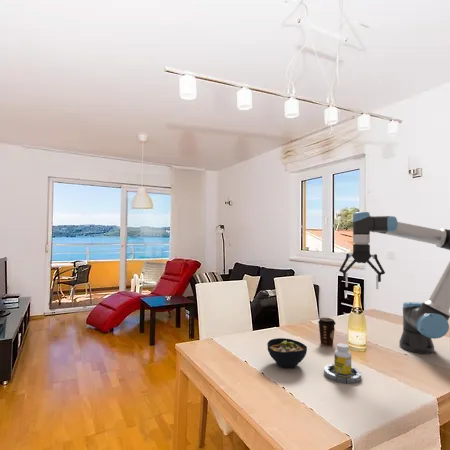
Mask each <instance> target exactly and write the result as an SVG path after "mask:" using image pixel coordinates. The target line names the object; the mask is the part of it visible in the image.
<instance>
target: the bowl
mask: <svg viewBox="0 0 450 450" xmlns="http://www.w3.org/2000/svg"><path fill="white" fill-rule="evenodd" d="M266 347H267V351H268V353H269V355H270V357H271V359H272V360H273V361H275V364H277V366H278V367H279V368H282V369H285V370H286V369H287V370H290V369H295V368H297V367H298V365H299V364H300V363H301V362H302V361H303V360H304V358H305V357H306V355H307V352H308V348H307V347H308V346H307V345H305V344H304V343H303V342H300V341H298V340H295V339H291V338H285V337H284V338H283V337H278V338H273V339H270V340H268V342H267V344H266Z"/></svg>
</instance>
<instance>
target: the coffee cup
mask: <svg viewBox="0 0 450 450" xmlns="http://www.w3.org/2000/svg"><path fill="white" fill-rule="evenodd" d="M317 323H318V328H319V341H320V345H321V346H324V347H325V346H326V347H331V346H333V345H334V337H335V325H336V321H335V320H334V319H333V318H330V317H320V318H319V320H318V321H317Z"/></svg>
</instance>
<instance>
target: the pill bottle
mask: <svg viewBox="0 0 450 450" xmlns="http://www.w3.org/2000/svg"><path fill="white" fill-rule="evenodd" d="M336 348H337V349H335V351H334V356H333V357H334V362H333V364H334V371H335V374H337V375H338V376H343V377H349V376H351V366H352V353H351V352H350V351H349V350H350V346H349V345H348V344H346V343H337V344H336Z"/></svg>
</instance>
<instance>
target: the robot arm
mask: <svg viewBox="0 0 450 450" xmlns="http://www.w3.org/2000/svg"><path fill="white" fill-rule="evenodd" d="M371 233H377V234H378V233H379V234H384V235H388V236H393V237H399V238H403V239H408V240H413V241H417V242H423V243H426V244H432V245H435V246H436V247H437V248H440V249H444V250H448V251H450V229H446V228H440V229H436V228H431V227H426V226H422V225H416V224H410V223H406V222H400V221H398V219H397V217H396V216H392V215H381V216H380V215H379V216H377V215H376V216H374V215H370V212H368V211H357V212H354V213H353V215H352V243H353V245H352V253H349V252H348V253H346V254H345V255H346V256H345V258H344V261H343V262H342V265H341V266H340V268H339V272H340V273H342V279H343V280H344V281H345V287H346V288H348V286H349V281H348V275H349V273H347V272H348V271H349V270H350V269H351V268H352V267H353V265H355V263H358V264H361V263H362V264H366V263H367V265H369V266H370V267H371V268H372V269H373V271H374V272H375V273H376V274H375V277H376V278H375V280H376V283H375V284H376V285H375V286H376V287H375V288H376V290H379V283H381V281H382V278H381V277H382V275H385V274H386V271H385V270H384V268H383V266H382V265H381V262H380V261H379V259H378V254H377V253H375V254H371V244H370V242H371V235H370V234H371ZM350 258H353V260H352V261H351V263H350V264H348V265H347V267H346V268H345V266H346V264H347V262H348V261H349V259H350ZM371 258H372V259H374V261H375V262H376V264H377V266H378V268H379V269H377V267H376V266H375V265H374V264H373V263H372V262H371V261H370V259H371ZM344 268H345V269H344ZM379 270H380V271H379ZM402 304H403V305H402V333H401V336H400V339H399V347H400V348H401V349H403V350H406V351H408V352H412V353H416V354H433V353H435V346H434V342H433V340H435V339H440V338H443V337H445V336H446V335H447V334H448V332H449V330H450V325H449V322H448V321H449V319H450V311H449V310H450V261H449V262H448V264H447V266H446V268H445V269H444V270H443V273H442V274H441V276H440V278H439V280H438V281H437V284H436V286H435V287H434V289H433V291H432V292H431V295H430V297H429V298H428V300H425V301H423V302H416V301H413V302H411V301H406V302H403V303H402Z"/></svg>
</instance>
